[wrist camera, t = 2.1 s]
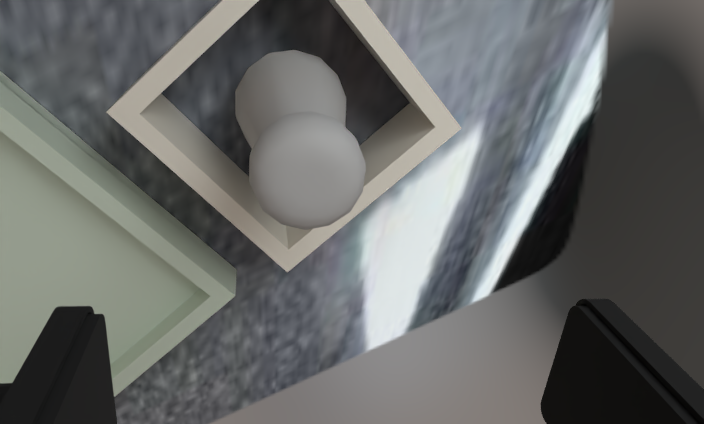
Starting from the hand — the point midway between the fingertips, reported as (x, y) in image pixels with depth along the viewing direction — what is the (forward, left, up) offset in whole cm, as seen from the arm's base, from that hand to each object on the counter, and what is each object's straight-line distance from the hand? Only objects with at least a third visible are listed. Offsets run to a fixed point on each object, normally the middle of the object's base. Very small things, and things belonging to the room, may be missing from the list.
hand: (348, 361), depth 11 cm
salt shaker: (0, 0, -22) cm, 22 cm away
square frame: (0, 0, -22) cm, 22 cm away
